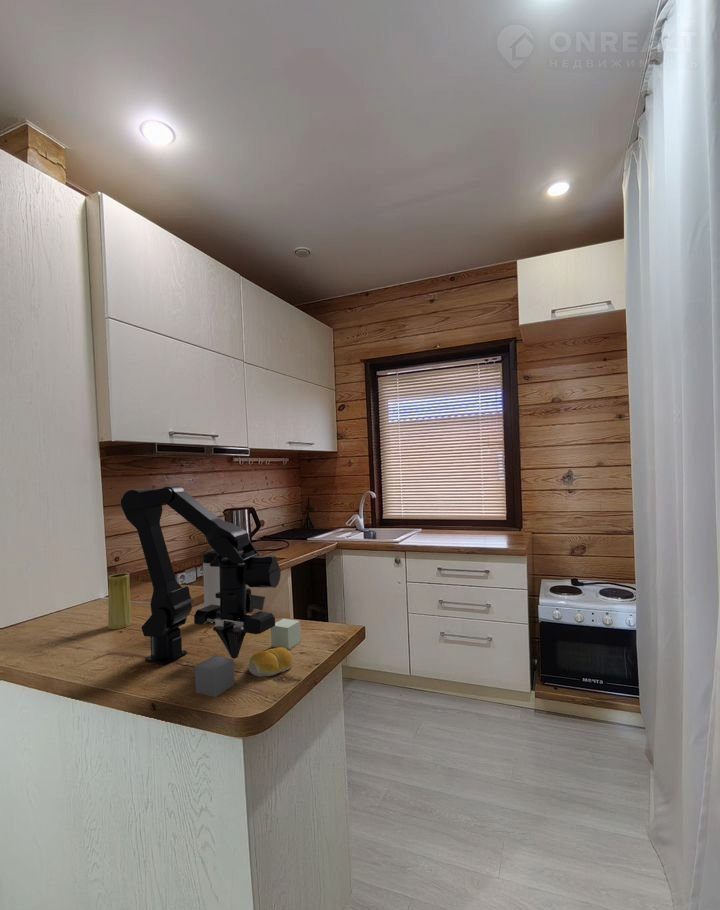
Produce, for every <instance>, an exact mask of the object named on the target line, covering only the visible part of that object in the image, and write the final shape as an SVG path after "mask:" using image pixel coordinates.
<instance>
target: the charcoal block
mask: <svg viewBox="0 0 720 910" xmlns="http://www.w3.org/2000/svg"><path fill="white" fill-rule="evenodd" d="M234 661H235V659H233V658H231V657H230V658H229V657H224V656H219V655H213V656H210V657H209V658H207V659H205V660H203V661H202V662H199V663H198V664H196V665H195V666H194V674H195V675H194V676H195V678H194V679H195V693H197V694H201V695H205V696H210V697H213V698H217V697H218V696H219V695H221V694H223V693H224V692H226V691H227V690H229V689H230V688H232V687H234V686H235V664H234Z"/></svg>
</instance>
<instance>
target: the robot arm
mask: <svg viewBox="0 0 720 910" xmlns="http://www.w3.org/2000/svg"><path fill="white" fill-rule="evenodd" d="M166 505H167V506H168V507H169V508H171V509H172V510H173V511H174V512H176V513H177V514H178V515H179V516H180V517H182V518H183V519H184V520H186V521H187V522H188V523H189V524H191V525H192V526H193V527H195V529H196V530H198V531H199V532H201V533H202V534H203V536H204V537H205V538H206V539H205V540H206V541H207V544H208V546H209V547H211V549H212V551H215V552H216V553H217V554H218V556H217V557H216V558H215V560H214V561H212V562H211V563H210V566H211V567H219V584H220V592H218V593H216V598H220V606H219V605H209V606H206V607H205V606H204V607H202V608H199V609H197V610H195V613H194V615H193V619H194V620H193V623H194V624H195V625H199V626H203V625H206V623H207V619H213V620H215V623H214V624H215V626H213V627H212V631H214V632H215V633H216V634H217V636H218V637H219V638H220V640H221V642H222V643H223V645H224V647H225V648H226V651H227V653H228V654H229V656H230V659H234V660H235V659H237V658H238V657H239V655H240V651H241V648H242V645H243V642H244V639H245V636H246V634H252V635H260V634H263V633H265V632H266V631H268V630H269V629H270V630H271V628H272V627H274V626H275V623H276V617H275V615H274V614H273V612H267V611H263V610H264V606H265V599H266V596H263V595H256V594H252V589H251V588H262V589H263V588H264V589H265V588H268V589H269V588H270V589H274V588H275V589H276V588H277V587H278V585H279V582H280V580H281V572H282V569H281V568H280V564H279V562H278V560H277V557H276V556H277V555H274V554H269V555H260V553H259V552H258V550H257V549H256V547H255V546H254V544H253V543H252V541H251V540H250V535H249V533H248V531H247V530H245V529H244V528H241V527H240V526H238V525H236V524H234V523H233V522H229V521H227V520H223V519H221V518H219V517H218V516H216V514H214V513H213V512H212V511H210V510H209V509H208V508H207V507H205V506H204V505H203V504H202V503H200V502H199V501H198V500H196V499H195V498H194V497H193V496H192V495H190V494H189V493H188V492H186V491H185V488H183V487H181V486H179V485H170V486H164V487H162V488H157V489H155V488H141V489H140V488H139V489H129V490H128V491H127V490H126V492H125V493H124V494H123V496H122V498H121V499H120V507H121V509H122V512H123V514H124V516H125V518H126V520H127V522H129V523H130V524H131V525H132V526H133V527H134V528H135V529H136V532H137V535H138V537H139V542H140V545H141V546H140V547H141V548H142V551H143V555H144V560H145V562H146V563H145V564H146V566H147V569H148V570H147V571H148V573H149V578H150V581H151V584H152V588H153V589H152V590H153V591H152V594H151V595H152V596H151V600H150V605H149V606H150V611H151V615H150V617H149V618H147V620H146V621H145V622H144V624H143V625H142V626H141V630H142V634H143V637H150V655H148V656H147V657H145V658H144V660H145V661H147V662H150V663H156V664H159V665H166V664H168V663H170V662H172V661H174V660H176V659H178V658H181V657H183V656H184V655H186V654H187V653H188V651H187V650H184V649H183V646H182V644H183V643H182V641H183V640H182V635H181V633H182V632H181V628H180V627H181V626H182V625H185V624H186V622H187V619H188V617H189V615H190V614H191V612H192V609H193V607H192V606H193V605H192V603H193V602H194V600H193V598H192V596H191V593H190V588H189V586H188V585H185V586H182V585H181V584H179V582H178V581H177V579H176V577H175V572H174V569H173V566H172V565H173V564H172V563H171V558H170V556H169V551H168V547H167V544H166V541H165V537H164V533H163V530H162V526H161V518H162V515H163V506H166ZM248 587H249V588H248ZM254 610H258V612H255V613H253V614H251V613H252V612H254ZM248 613H249V614H248Z"/></svg>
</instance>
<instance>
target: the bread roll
mask: <svg viewBox="0 0 720 910" xmlns="http://www.w3.org/2000/svg"><path fill="white" fill-rule="evenodd" d="M293 660H294V659H293V655H292V653H291V652H290V651H289V649H285V648H283V647H272V648H270V649H267V650H265V651H264V650H261V651H257V652H254V653H253V654H252V656H250V658H249V663H248V671H249V672H250V673H251V675H253V676H255V677H259V678H265V677H271V676H275V675H278V674H279V673H283V672H286V670H287V671H288V670H290V668H291V667H292V664H293Z"/></svg>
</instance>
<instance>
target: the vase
mask: <svg viewBox="0 0 720 910" xmlns="http://www.w3.org/2000/svg"><path fill="white" fill-rule="evenodd" d="M107 579H108V612H107V613H108V618H107V619H108V622H107V628H108V629H109V630H121V629H124V627H125V628H127V626H128V627H130V626H131V625H133V619H132V618H133V617H132V605H131V592H130V591H131V590H130V587H131V586H130V581H131V580H130V573H128V572H122V573H121V572H120V573H115V574H114V573H113V574H112V575H109V576H108V578H107Z"/></svg>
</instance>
